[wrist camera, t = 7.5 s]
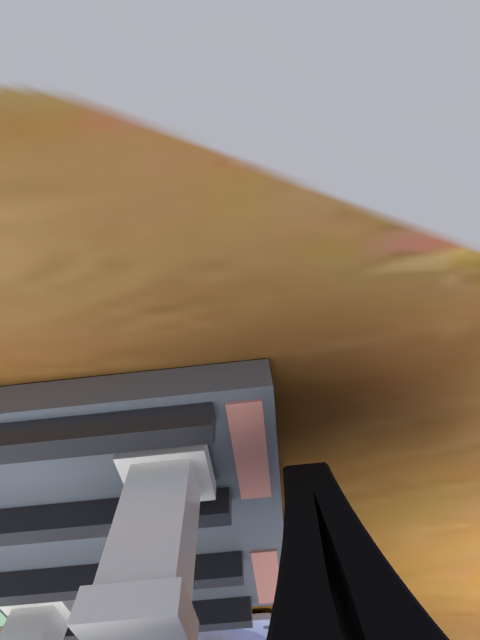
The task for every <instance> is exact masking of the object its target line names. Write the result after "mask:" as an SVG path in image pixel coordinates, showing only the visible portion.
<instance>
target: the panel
mask: <svg viewBox="0 0 480 640" xmlns="http://www.w3.org/2000/svg"><path fill="white" fill-rule="evenodd" d="M206 444H207V445H208V449H209V454H210V458H211V463H212V467H213V472H214V476H215V481H216V500H210V501H200V510H199V522H198V534H197V546H196V558H195V570H194V582H193V594H192V604H193V607H194V610H195V612H196V615H197V618H198V620H199V632H208V631H220V630H232V629H244V628H253V619H252V606H264V605H273V603H274V597H275V591H276V585H277V578H278V571H279V564H280V556H281V549H282V540H283V527H284V523H283V510H282V496H281V483H280V469H279V456H278V442H277V429H276V415H275V402H274V389H273V381H272V376H271V371H270V365H269V360H268V359H259V360H249V361H240V362H230V363H221V364H211V365H202V366H192V367H183V368H173V369H163V370H154V371H144V372H135V373H125V374H116V375H106V376H97V377H87V378H78V379H68V380H59V381H49V382H39V383H30V384H20V385H11V386H1V387H0V607H1V606H13V605H24V604H36V603H47V602H59V601H70V600H75V599H76V596H77V593H78V590H79V587H80V586H84V585H93V582H94V579H95V575H96V572H97V569H98V566H99V563H100V560H101V556H102V553H103V550H104V547H105V544H106V540H107V537H108V534H109V531H110V528H111V525H112V521H113V518H114V515H115V512H116V509H117V505H118V502H119V499H120V496H121V493H122V489H123V486H124V484H123V482H122V480H121V477H120V475H119V473H118V470H117V468H116V466H115V464H114V461H113V458H114V455H115V453H125V452H135V451H145V450H155V449H165V448H175V447H185V446H196V445H206ZM7 618H8V616H7V615H6V614H5V613H4V612H3V611H2V610H1V609H0V628H3V626H4V624H5V622H6V620H7ZM64 640H79V639H78V638H77V637H76V636H75V635H74V633H73V632H72V631H71V630H70V629H69V627H68V628H67V631H66V634H65V637H64Z"/></svg>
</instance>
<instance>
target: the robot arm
mask: <svg viewBox="0 0 480 640" xmlns="http://www.w3.org/2000/svg"><path fill="white" fill-rule="evenodd" d="M283 480H284V496H285V515H284V527H283V540H282V549H281V556H280V564H279V571H278V578H277V585H276V591H275V597H274V603H273V608H272V613H256V614H252V619H253V628H244V629H232V630H220V631H208V632H199V633H198V640H449V639H448V637H447V636H446V635H445V634H444V633H443V631H442V630H441V629H440V628H439V627H438V625H437V624H436V623H435V622H434V621H433V619H432V618H431V617H430V616H429V614H428V613H427V612H426V611H425V609H424V608H423V607H422V606H421V604H420V603H419V602H418V601H417V599H416V598H415V597H414V596H413V594H412V593H411V592H410V590H409V589H408V588H407V587H406V585H405V584H404V583H403V581H402V580H401V579H400V577H399V576H398V575H397V573H396V572H395V571H394V569H393V568H392V566H391V565H390V564H389V562H388V561H387V559H386V558H385V557H384V555H383V554H382V553H381V551H380V550H379V548H378V547H377V545H376V544H375V542H374V541H373V540H372V538H371V537H370V535H369V533H368V532H367V530H366V529H365V527H364V526H363V524H362V523H361V521H360V520H359V518H358V517H357V515H356V514H355V512H354V510H353V509H352V507H351V506H350V504H349V502H348V501H347V499H346V497H345V496H344V494H343V492H342V490H341V489H340V487H339V485H338V483H337V481H336V480H335V478H334V476H333V474H332V472H331V470H330V468H329V466H328V464H326V463H325V462H323V463H313V464H302V465H291V466H286V467H284V468H283Z"/></svg>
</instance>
